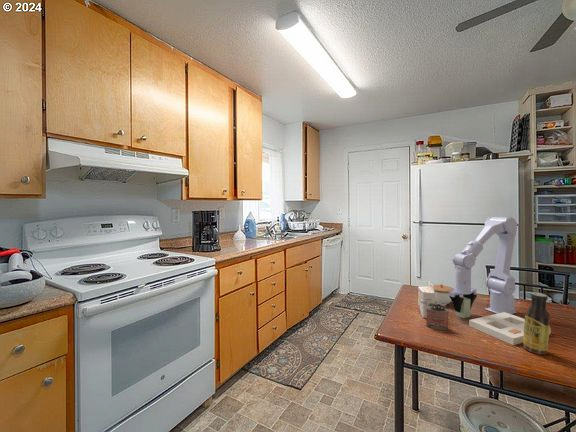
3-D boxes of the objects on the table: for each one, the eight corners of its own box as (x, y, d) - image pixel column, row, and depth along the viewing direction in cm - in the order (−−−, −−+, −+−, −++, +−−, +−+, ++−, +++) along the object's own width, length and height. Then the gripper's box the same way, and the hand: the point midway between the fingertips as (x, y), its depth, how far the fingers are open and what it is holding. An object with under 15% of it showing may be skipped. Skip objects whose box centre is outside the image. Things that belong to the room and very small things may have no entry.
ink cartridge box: (417, 310, 126) (417, 279, 125) (428, 311, 125) (429, 280, 124) (422, 318, 117) (423, 285, 117) (435, 319, 116) (435, 285, 116)
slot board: (504, 317, 117) (504, 311, 117) (550, 334, 102) (550, 327, 102) (469, 326, 109) (469, 319, 109) (513, 345, 94) (513, 337, 94)
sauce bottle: (518, 346, 94) (519, 290, 93) (534, 345, 94) (536, 290, 93) (536, 357, 87) (538, 297, 86) (554, 355, 88) (556, 296, 87)
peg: (461, 313, 122) (461, 296, 122) (470, 316, 118) (470, 299, 118) (455, 314, 121) (455, 297, 120) (463, 318, 117) (464, 300, 116)
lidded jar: (458, 306, 130) (458, 287, 129) (436, 306, 130) (436, 287, 129) (445, 298, 140) (446, 281, 140) (425, 299, 141) (425, 281, 140)
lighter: (447, 326, 109) (447, 302, 109) (449, 330, 106) (449, 305, 105) (425, 324, 112) (425, 300, 111) (426, 327, 108) (427, 303, 108)
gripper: (466, 276, 125) (465, 305, 125) (443, 279, 120) (442, 309, 120) (481, 280, 118) (480, 310, 119) (457, 284, 113) (457, 315, 114)
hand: (462, 310), depth 119 cm, fingers open, 6 cm apart
